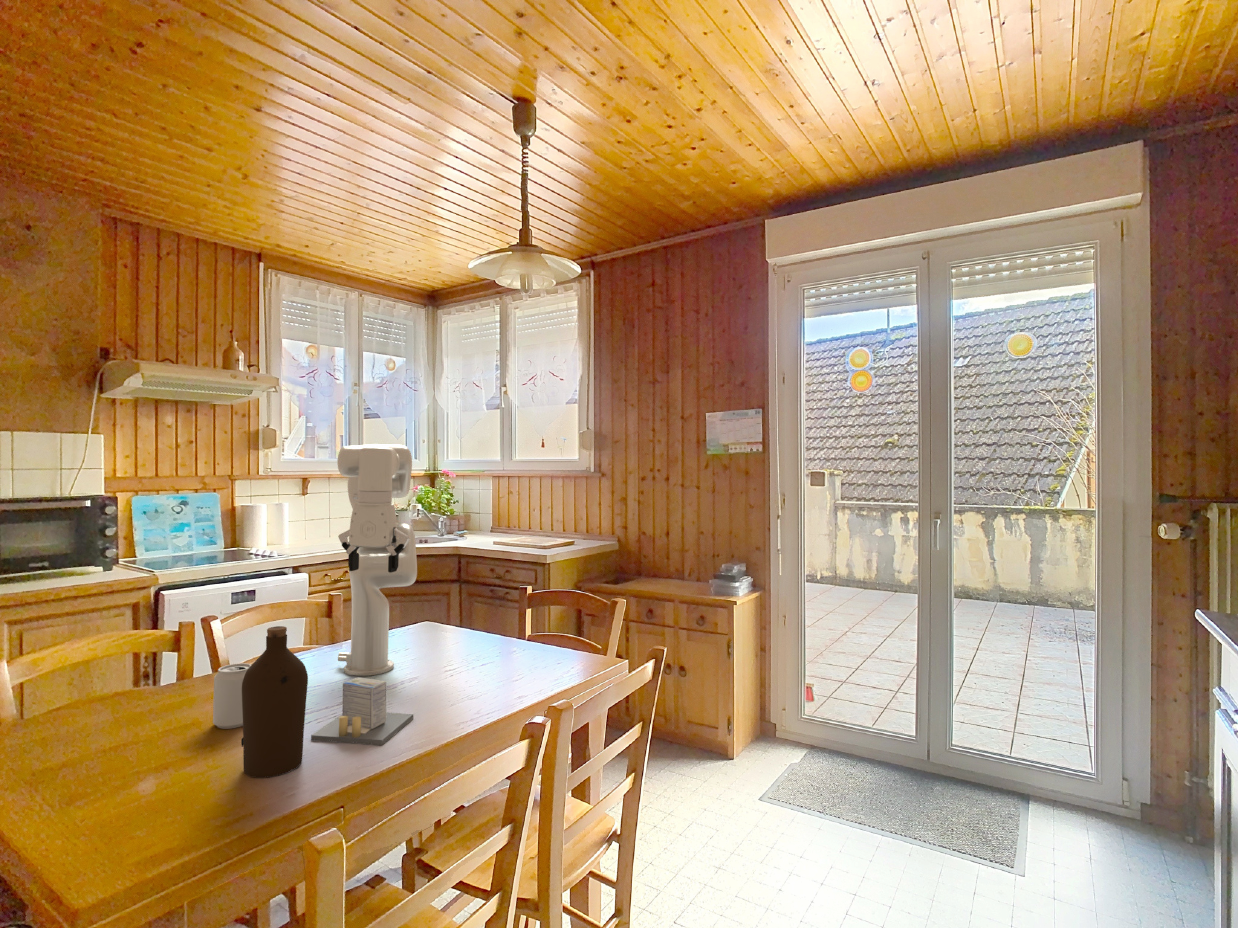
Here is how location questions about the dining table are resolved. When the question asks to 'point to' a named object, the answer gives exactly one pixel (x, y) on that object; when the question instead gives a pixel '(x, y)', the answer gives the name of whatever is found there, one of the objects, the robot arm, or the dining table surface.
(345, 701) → the medicine box
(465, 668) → the dining table surface
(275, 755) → the olive oil
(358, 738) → the pin board
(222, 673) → the can
